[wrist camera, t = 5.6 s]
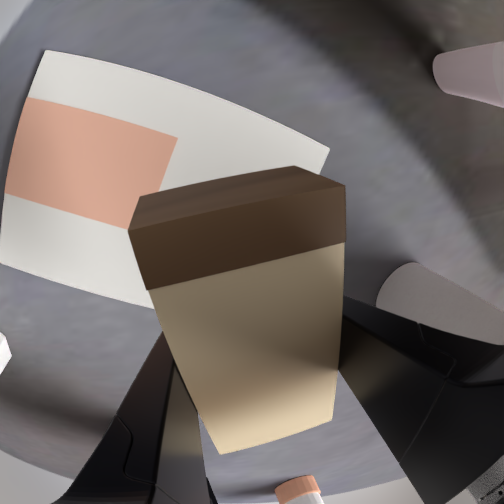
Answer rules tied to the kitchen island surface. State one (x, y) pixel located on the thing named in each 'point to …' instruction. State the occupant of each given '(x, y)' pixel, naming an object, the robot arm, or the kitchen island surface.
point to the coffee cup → (440, 304)
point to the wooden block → (249, 297)
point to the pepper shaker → (4, 352)
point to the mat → (119, 165)
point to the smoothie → (473, 73)
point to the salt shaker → (299, 491)
